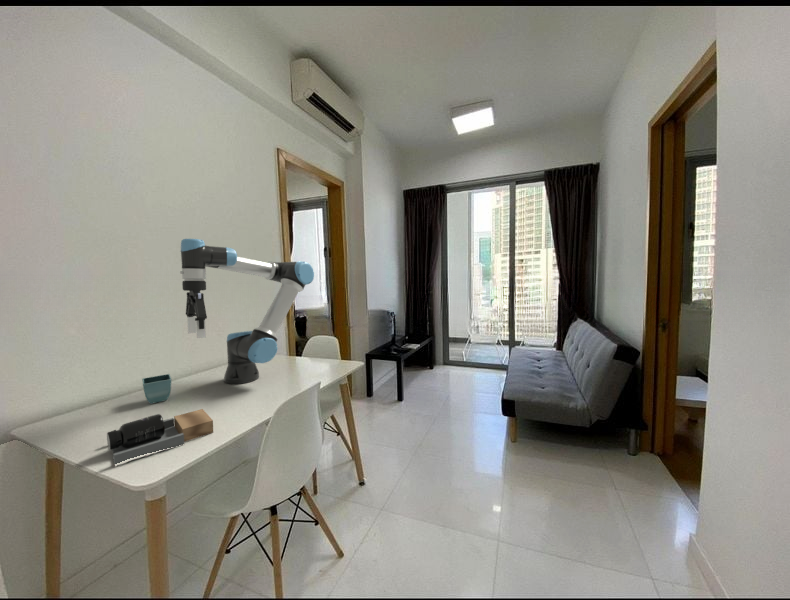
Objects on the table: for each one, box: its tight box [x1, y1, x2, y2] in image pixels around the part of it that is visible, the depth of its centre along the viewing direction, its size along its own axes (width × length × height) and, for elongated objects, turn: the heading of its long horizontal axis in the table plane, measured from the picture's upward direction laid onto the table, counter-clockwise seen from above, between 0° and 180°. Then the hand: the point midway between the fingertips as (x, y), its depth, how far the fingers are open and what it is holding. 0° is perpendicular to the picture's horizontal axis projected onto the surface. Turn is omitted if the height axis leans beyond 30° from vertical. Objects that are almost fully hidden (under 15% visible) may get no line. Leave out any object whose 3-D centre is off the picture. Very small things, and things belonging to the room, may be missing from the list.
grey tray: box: [111, 417, 185, 465], centre depth 88 cm, size 15×15×3 cm
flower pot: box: [141, 373, 172, 405], centre depth 120 cm, size 9×9×9 cm
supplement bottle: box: [106, 413, 165, 451], centre depth 88 cm, size 7×7×12 cm
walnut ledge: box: [173, 408, 214, 443], centre depth 97 cm, size 8×12×4 cm, turn 46°
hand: (196, 335), depth 117 cm, fingers open, 13 cm apart
